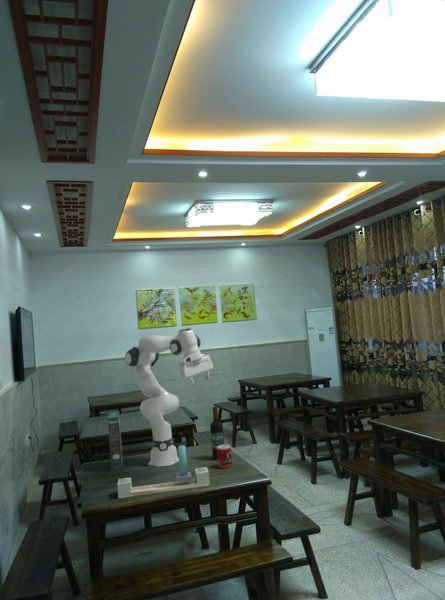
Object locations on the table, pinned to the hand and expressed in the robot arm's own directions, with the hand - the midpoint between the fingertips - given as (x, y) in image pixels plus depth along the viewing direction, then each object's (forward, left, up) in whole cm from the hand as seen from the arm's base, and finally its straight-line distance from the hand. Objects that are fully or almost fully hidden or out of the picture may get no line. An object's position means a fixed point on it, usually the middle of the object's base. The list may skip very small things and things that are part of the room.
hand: (201, 382), depth 243 cm
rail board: (+14, -24, -48) cm, 56 cm away
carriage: (+14, -14, -46) cm, 50 cm away
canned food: (-8, +10, -49) cm, 50 cm away
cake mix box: (-40, -51, -49) cm, 81 cm away
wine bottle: (-25, +9, -49) cm, 56 cm away
